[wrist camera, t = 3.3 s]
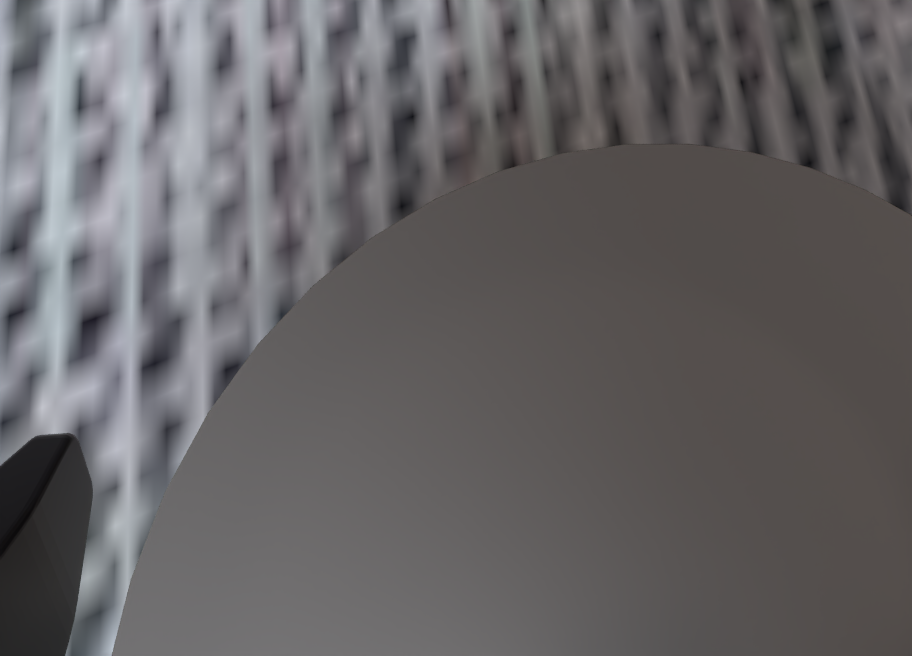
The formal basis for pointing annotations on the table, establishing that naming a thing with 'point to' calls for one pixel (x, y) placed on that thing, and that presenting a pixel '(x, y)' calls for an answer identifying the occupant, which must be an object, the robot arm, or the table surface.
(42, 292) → the table surface
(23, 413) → the table surface
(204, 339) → the table surface
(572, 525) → the plug
